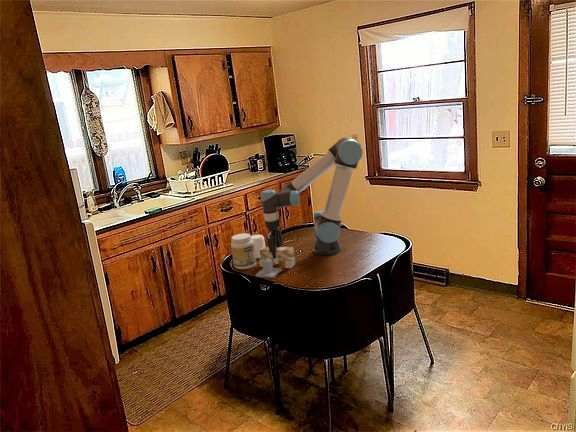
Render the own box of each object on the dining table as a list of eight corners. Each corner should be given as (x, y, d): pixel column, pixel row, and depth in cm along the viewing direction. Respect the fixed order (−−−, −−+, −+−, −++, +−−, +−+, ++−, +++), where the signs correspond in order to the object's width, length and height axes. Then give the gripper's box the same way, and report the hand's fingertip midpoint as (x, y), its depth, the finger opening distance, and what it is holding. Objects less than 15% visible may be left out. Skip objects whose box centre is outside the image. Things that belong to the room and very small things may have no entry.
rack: (295, 263, 247) (294, 257, 246) (290, 268, 241) (289, 262, 240) (265, 262, 254) (264, 256, 253) (259, 266, 248) (259, 260, 247)
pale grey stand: (281, 270, 240) (280, 257, 238) (273, 277, 232) (271, 264, 230) (264, 269, 244) (262, 256, 242) (255, 276, 236) (253, 263, 234)
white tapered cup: (264, 258, 259) (261, 238, 256) (250, 259, 261) (247, 239, 258) (268, 253, 267) (265, 233, 263) (254, 254, 268) (251, 234, 265)
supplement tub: (250, 270, 245) (246, 240, 240) (230, 269, 249) (225, 240, 245) (260, 261, 255) (256, 232, 251) (240, 261, 260) (236, 232, 255)
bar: (294, 255, 244) (293, 247, 243) (291, 258, 241) (290, 250, 239) (264, 254, 252) (263, 246, 251) (260, 257, 248) (259, 249, 247)
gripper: (272, 214, 250) (278, 255, 256) (257, 225, 235) (264, 267, 241) (285, 214, 247) (291, 255, 253) (271, 224, 232) (277, 268, 238)
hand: (278, 261), depth 247 cm, fingers closed on bar, 4 cm apart
